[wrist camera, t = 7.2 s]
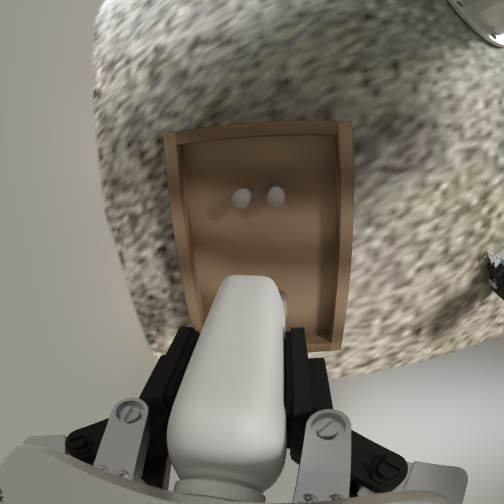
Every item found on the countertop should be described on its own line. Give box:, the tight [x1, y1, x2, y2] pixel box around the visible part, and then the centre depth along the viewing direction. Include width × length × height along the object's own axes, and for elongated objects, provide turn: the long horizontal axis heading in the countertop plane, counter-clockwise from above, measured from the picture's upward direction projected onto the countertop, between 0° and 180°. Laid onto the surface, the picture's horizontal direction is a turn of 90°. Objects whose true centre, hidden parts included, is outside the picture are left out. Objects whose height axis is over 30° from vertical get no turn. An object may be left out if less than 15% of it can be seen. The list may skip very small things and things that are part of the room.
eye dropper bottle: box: [167, 275, 287, 503], centre depth 7 cm, size 4×6×12 cm
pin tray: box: [163, 121, 354, 352], centre depth 22 cm, size 20×14×4 cm
